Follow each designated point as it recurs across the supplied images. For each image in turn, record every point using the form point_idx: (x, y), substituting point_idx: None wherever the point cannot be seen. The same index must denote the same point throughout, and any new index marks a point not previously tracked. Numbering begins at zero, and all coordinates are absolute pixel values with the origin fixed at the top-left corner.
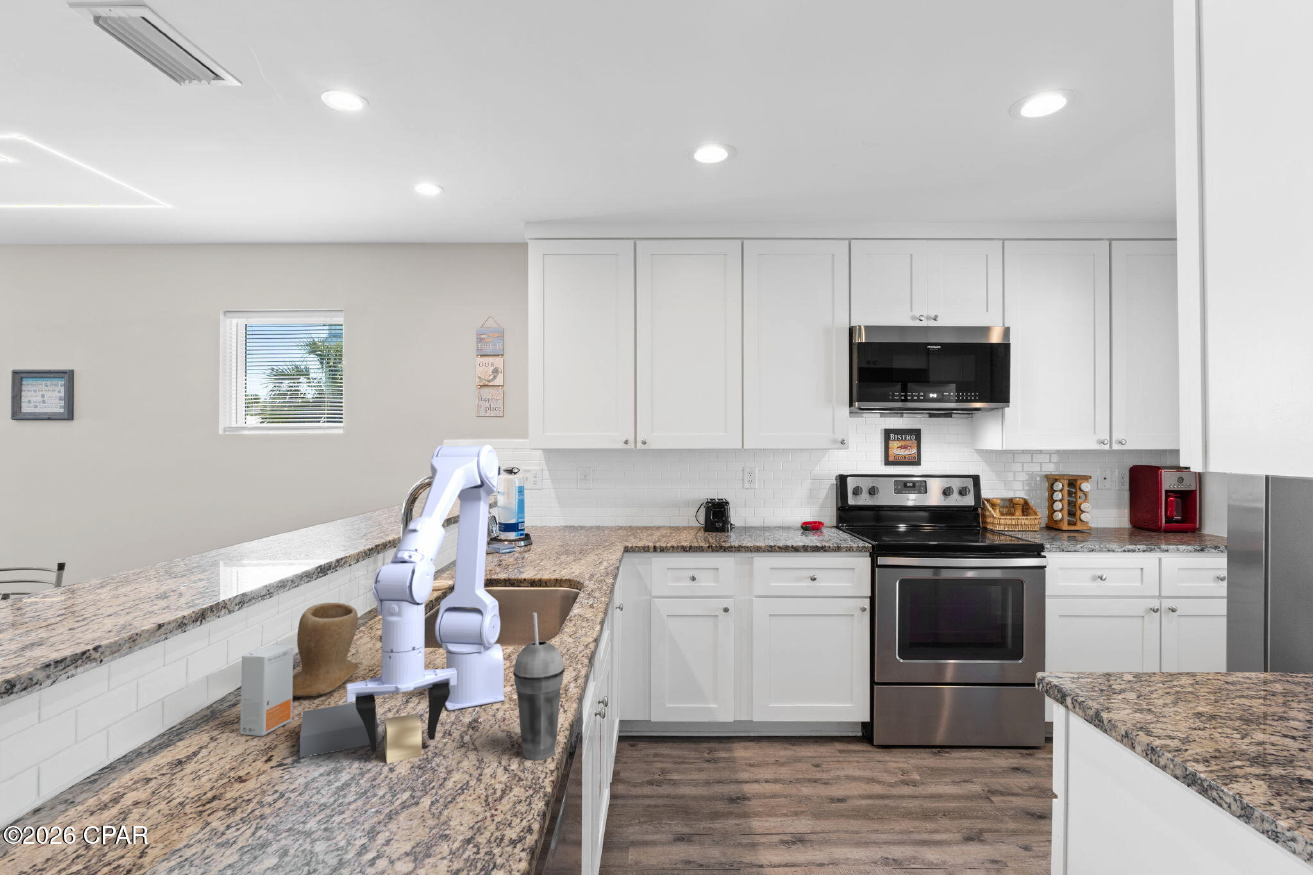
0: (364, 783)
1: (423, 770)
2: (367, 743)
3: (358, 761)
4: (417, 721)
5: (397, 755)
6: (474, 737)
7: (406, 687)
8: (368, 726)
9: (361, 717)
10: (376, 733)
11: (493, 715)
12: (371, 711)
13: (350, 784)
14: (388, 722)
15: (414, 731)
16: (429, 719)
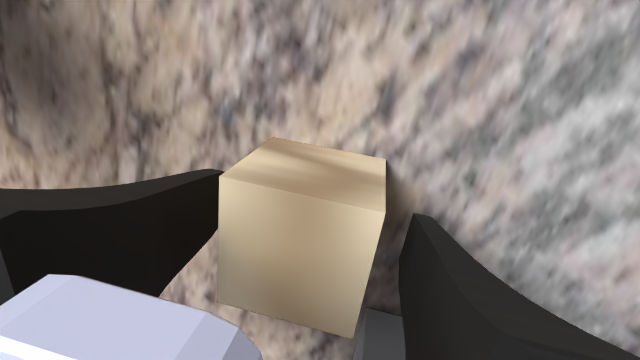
0: (513, 45)
1: (291, 13)
2: (395, 319)
3: (458, 234)
4: (231, 223)
5: (348, 158)
6: (106, 158)
7: (78, 346)
8: (484, 273)
9: (571, 325)
10: (368, 333)
11: None
12: (519, 325)
13: (560, 73)
14: (349, 297)
15: (263, 173)
16: (185, 233)
